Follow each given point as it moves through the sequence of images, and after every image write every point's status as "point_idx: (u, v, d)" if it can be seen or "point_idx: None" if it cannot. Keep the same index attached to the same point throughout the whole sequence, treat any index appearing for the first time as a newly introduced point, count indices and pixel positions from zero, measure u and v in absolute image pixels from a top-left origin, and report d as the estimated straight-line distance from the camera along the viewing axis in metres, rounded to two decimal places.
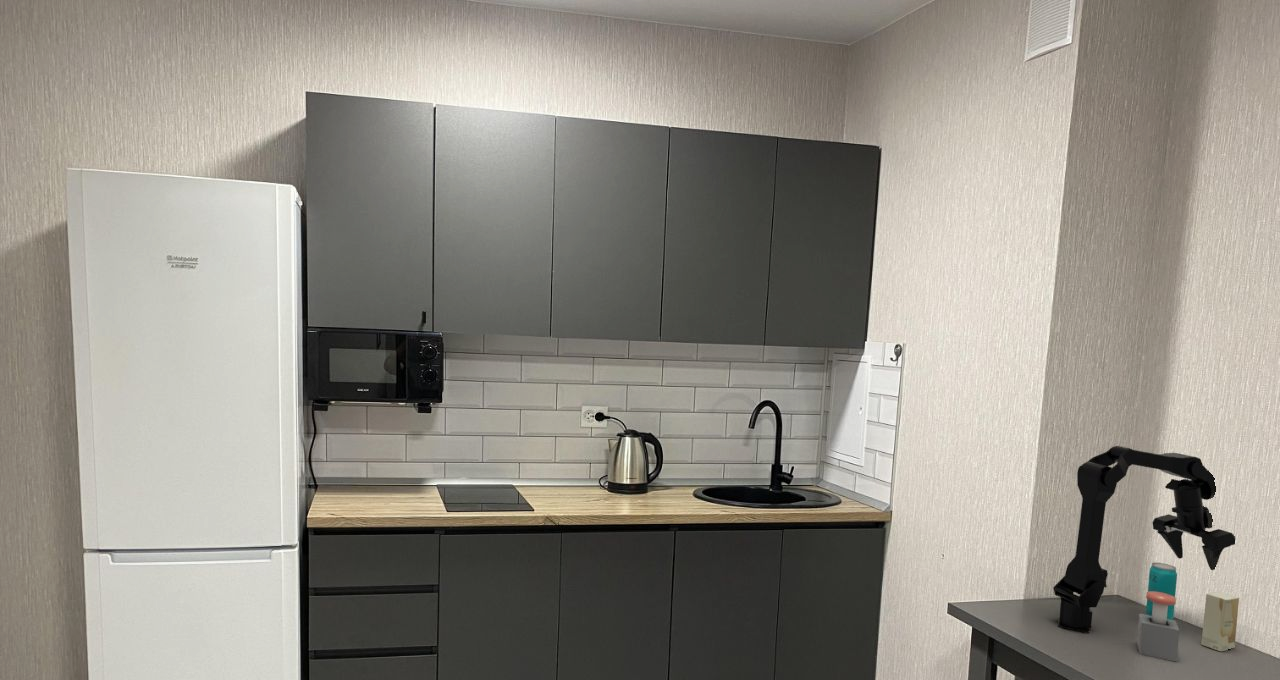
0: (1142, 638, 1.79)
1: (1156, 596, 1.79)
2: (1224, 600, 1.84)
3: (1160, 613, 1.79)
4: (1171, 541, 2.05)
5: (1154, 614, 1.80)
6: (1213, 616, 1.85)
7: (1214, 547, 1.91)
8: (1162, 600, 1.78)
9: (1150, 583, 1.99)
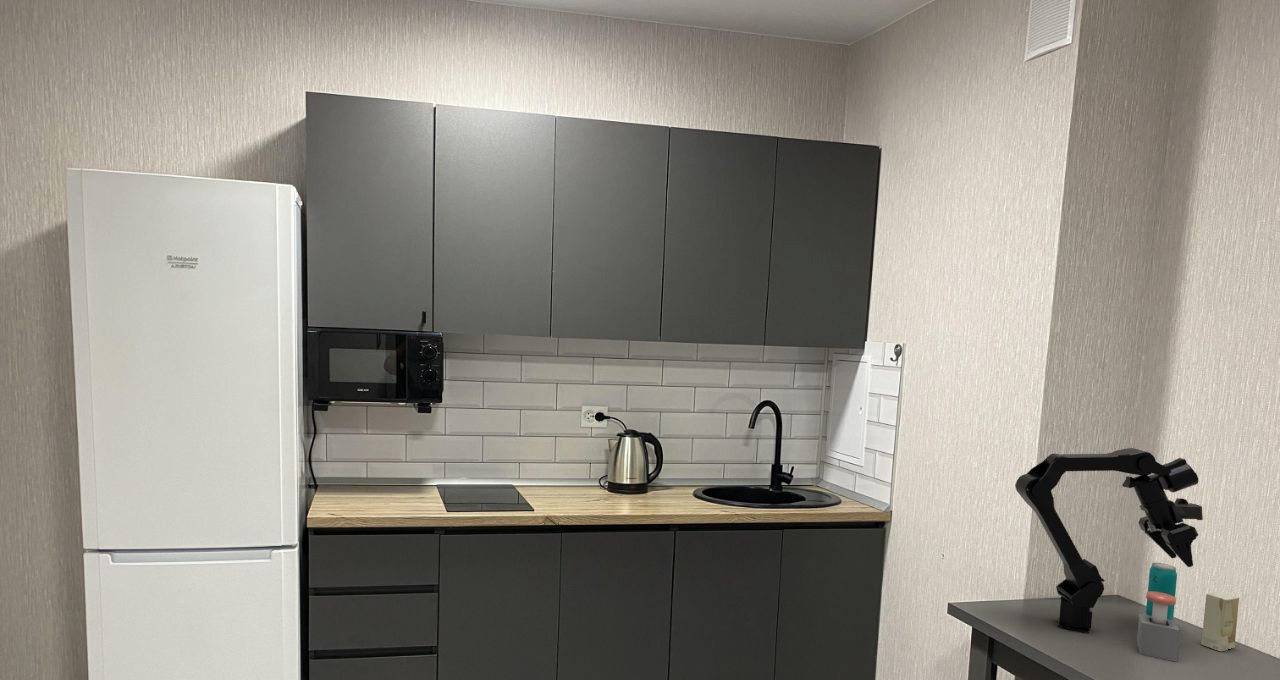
0: (1142, 638, 1.79)
1: (1156, 596, 1.79)
2: (1224, 600, 1.84)
3: (1160, 613, 1.79)
4: (1157, 540, 1.95)
5: (1154, 614, 1.80)
6: (1213, 616, 1.85)
7: (1169, 542, 1.82)
8: (1162, 600, 1.78)
9: (1150, 583, 1.99)
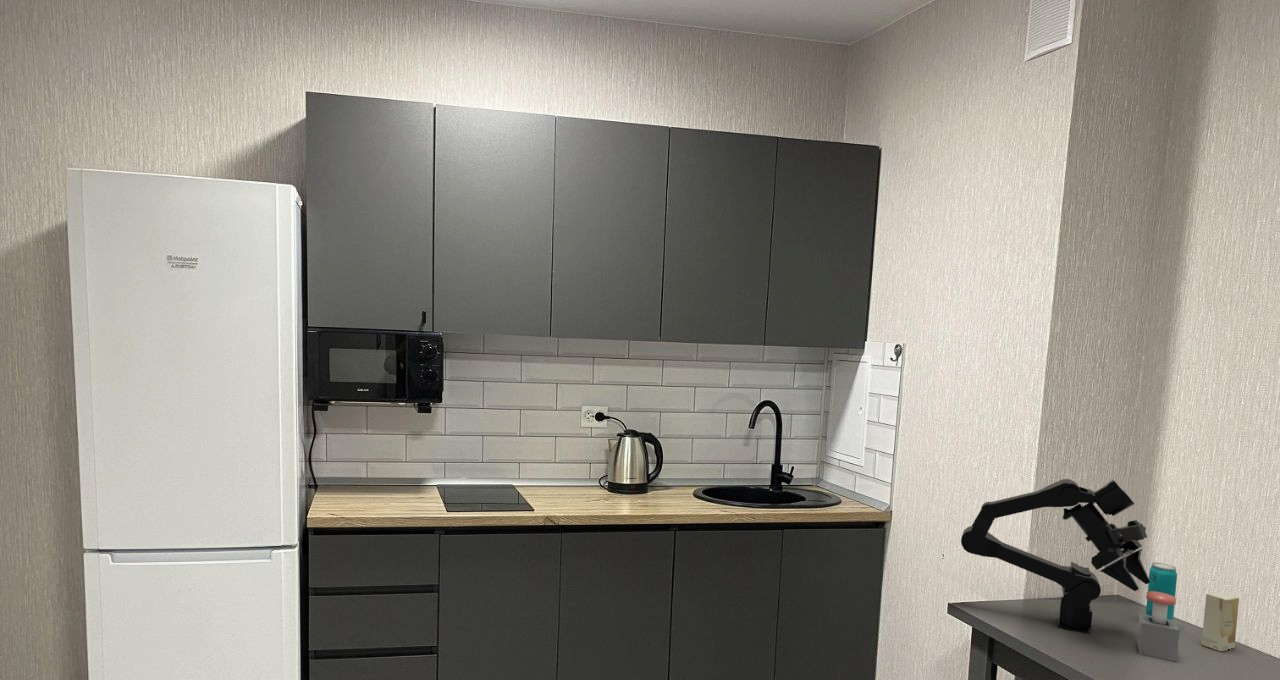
0: (1142, 638, 1.79)
1: (1156, 596, 1.79)
2: (1224, 600, 1.84)
3: (1160, 613, 1.79)
4: (1127, 568, 1.90)
5: (1154, 614, 1.80)
6: (1213, 616, 1.85)
7: (1096, 568, 1.83)
8: (1162, 600, 1.78)
9: (1150, 583, 1.99)
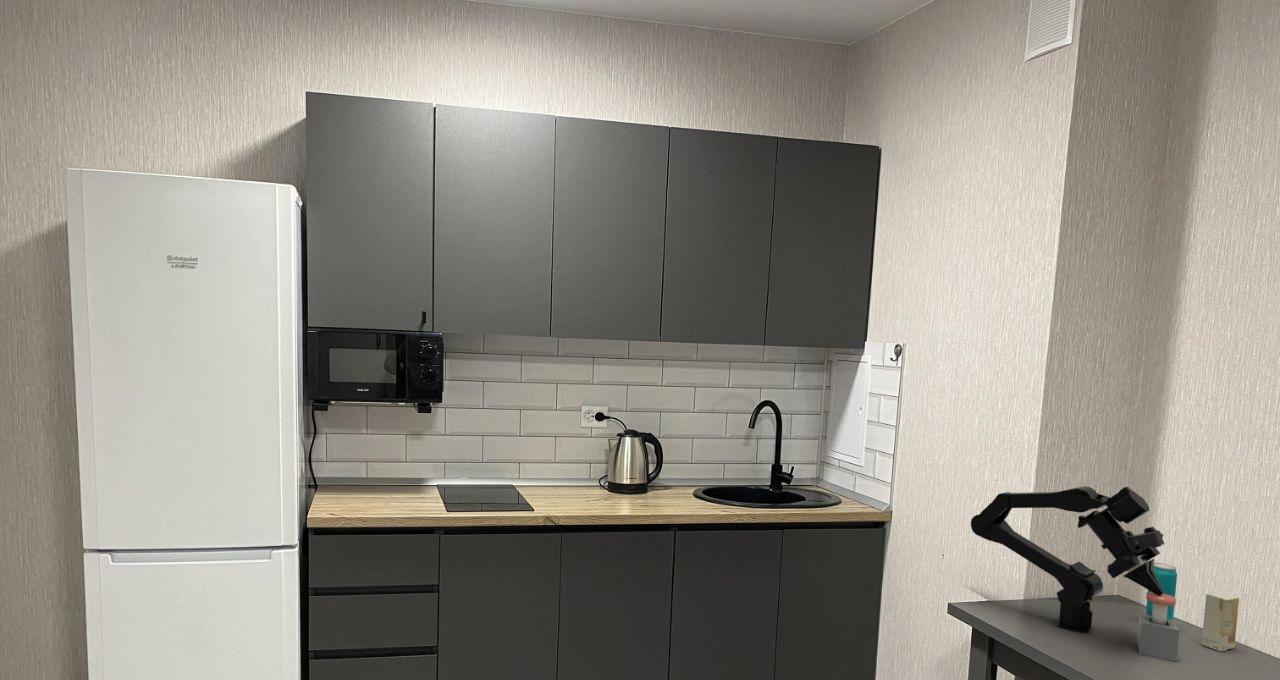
0: (1142, 638, 1.79)
1: (1156, 597, 1.79)
2: (1224, 600, 1.84)
3: (1160, 613, 1.79)
4: None
5: (1154, 614, 1.80)
6: (1213, 616, 1.85)
7: (1112, 577, 1.80)
8: (1162, 601, 1.78)
9: None
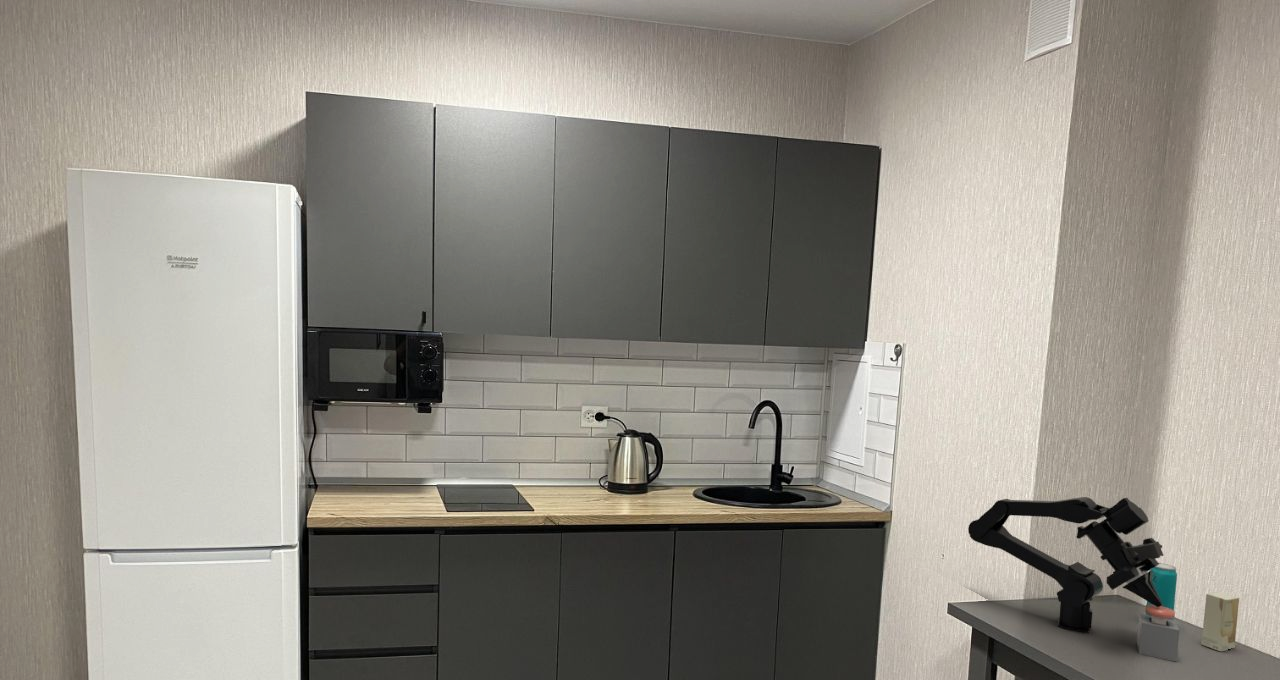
0: (1142, 638, 1.79)
1: (1155, 610, 1.79)
2: (1224, 600, 1.84)
3: None
4: None
5: None
6: (1213, 616, 1.85)
7: (1111, 588, 1.80)
8: (1161, 614, 1.78)
9: None
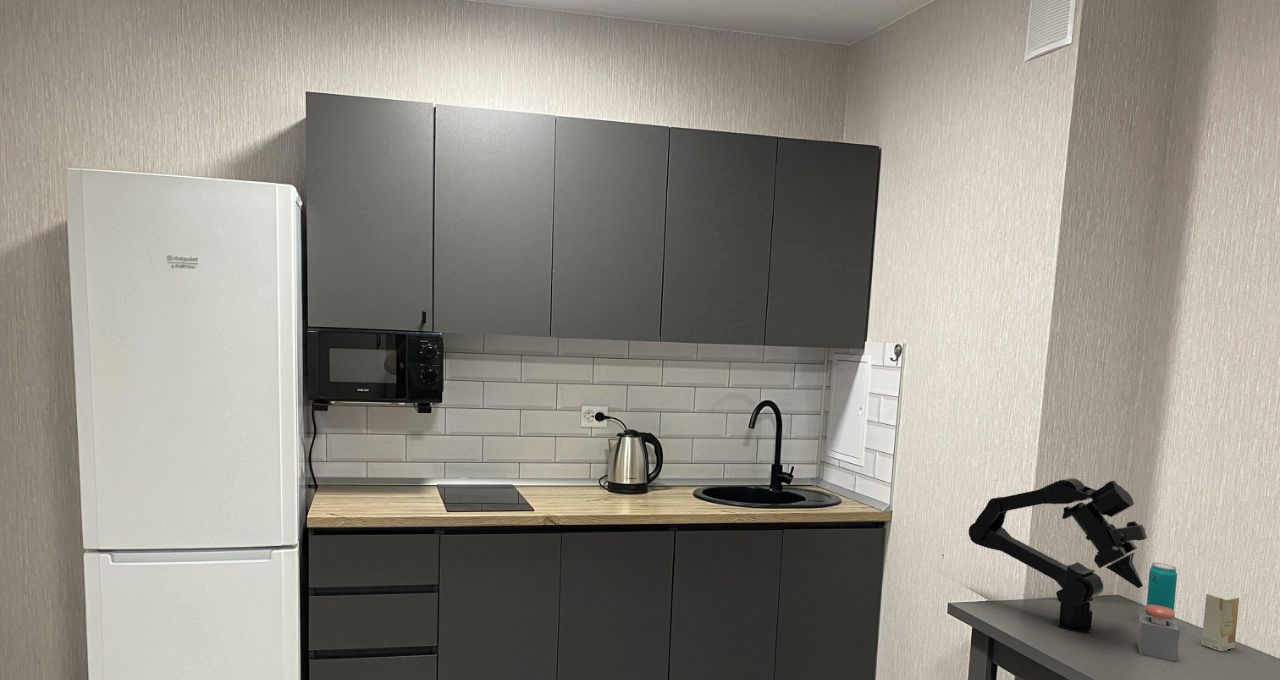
0: (1142, 638, 1.79)
1: (1155, 610, 1.79)
2: (1224, 600, 1.84)
3: None
4: None
5: None
6: (1213, 616, 1.85)
7: (1098, 566, 1.82)
8: (1161, 614, 1.78)
9: (1150, 583, 1.99)
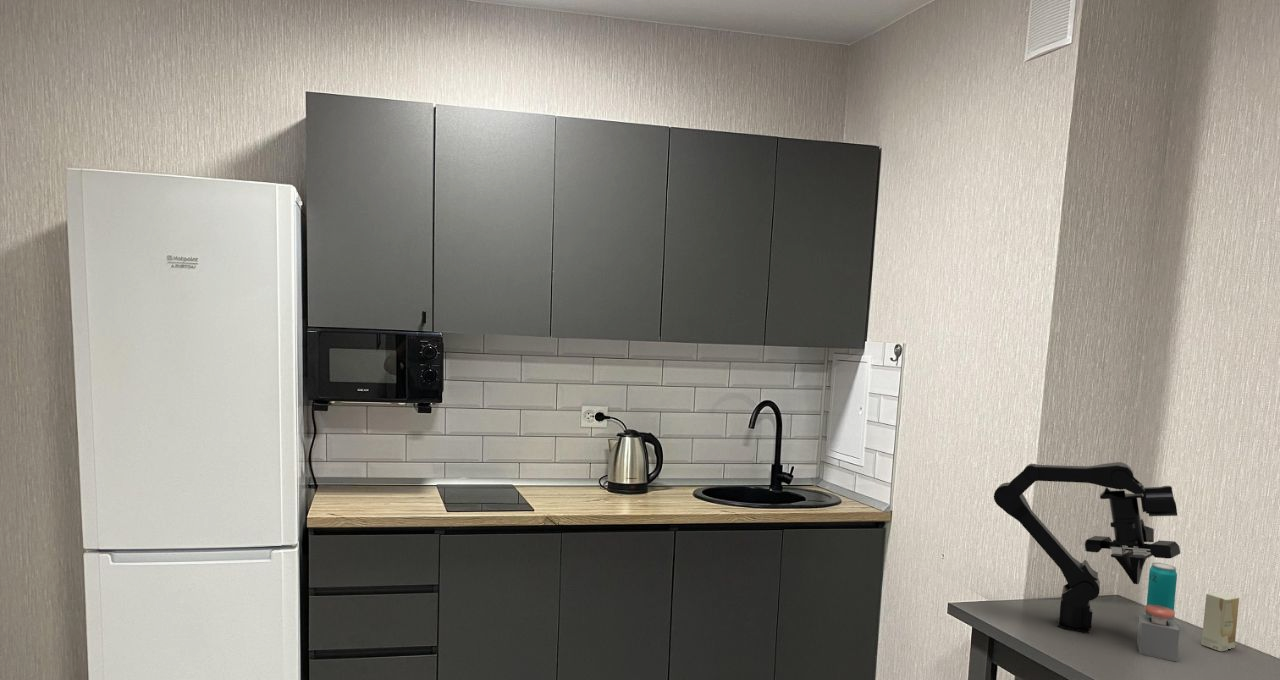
0: (1142, 638, 1.79)
1: (1155, 610, 1.79)
2: (1224, 600, 1.84)
3: None
4: (1127, 564, 1.87)
5: None
6: (1213, 616, 1.85)
7: (1167, 557, 1.79)
8: (1161, 614, 1.78)
9: (1150, 583, 1.99)
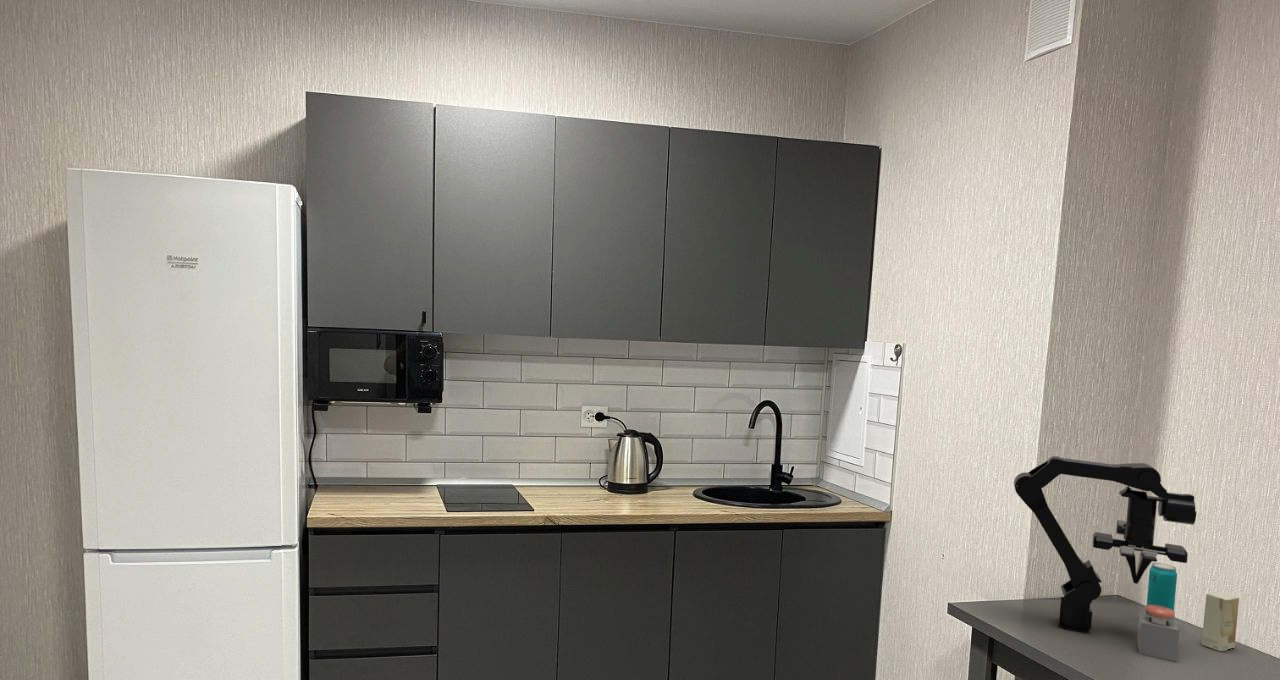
0: (1142, 638, 1.79)
1: (1155, 610, 1.79)
2: (1224, 600, 1.84)
3: None
4: None
5: None
6: (1213, 616, 1.85)
7: (1184, 561, 1.82)
8: (1161, 614, 1.78)
9: (1150, 583, 1.99)
